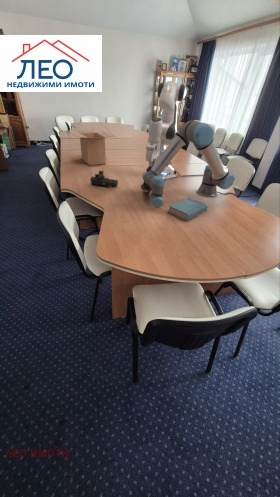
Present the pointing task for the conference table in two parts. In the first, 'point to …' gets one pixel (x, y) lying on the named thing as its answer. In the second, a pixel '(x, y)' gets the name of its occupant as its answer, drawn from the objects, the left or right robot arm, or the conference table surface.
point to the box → (92, 146)
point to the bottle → (148, 171)
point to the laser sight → (103, 180)
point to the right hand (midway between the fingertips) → (149, 182)
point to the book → (187, 208)
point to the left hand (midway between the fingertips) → (152, 164)
